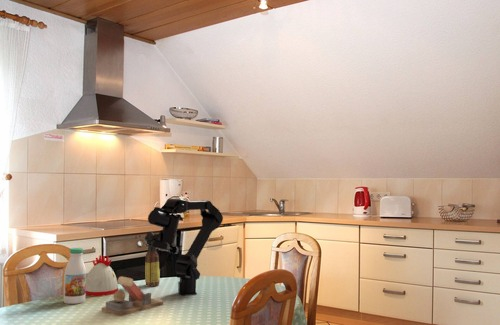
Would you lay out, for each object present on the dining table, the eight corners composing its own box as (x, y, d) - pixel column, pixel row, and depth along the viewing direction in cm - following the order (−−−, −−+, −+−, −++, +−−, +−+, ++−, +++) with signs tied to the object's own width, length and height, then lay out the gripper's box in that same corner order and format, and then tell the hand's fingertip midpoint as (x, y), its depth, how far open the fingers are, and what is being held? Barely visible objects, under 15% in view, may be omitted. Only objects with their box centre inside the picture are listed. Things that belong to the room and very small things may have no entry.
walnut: (120, 299, 167) (120, 288, 167) (127, 301, 165) (127, 290, 165) (110, 302, 164) (111, 290, 164) (118, 304, 161) (118, 292, 162)
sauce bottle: (161, 284, 209) (162, 239, 209) (157, 287, 202) (158, 241, 203) (146, 283, 209) (148, 239, 210) (142, 286, 203) (144, 240, 204)
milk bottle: (58, 302, 174) (61, 248, 174) (75, 298, 180) (77, 246, 181) (73, 305, 170) (75, 250, 171) (89, 301, 177) (91, 248, 178)
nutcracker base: (144, 300, 180) (145, 287, 181) (162, 304, 175) (163, 291, 175) (101, 311, 164) (102, 296, 164) (120, 316, 158) (120, 301, 159)
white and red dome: (107, 297, 184) (108, 259, 184) (75, 294, 186) (77, 256, 187) (123, 289, 197) (125, 253, 198) (94, 287, 200) (95, 252, 201)
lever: (138, 294, 175) (120, 274, 168) (148, 297, 172) (130, 276, 165) (134, 301, 173) (116, 281, 166) (143, 303, 170) (125, 283, 163)
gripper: (157, 229, 195) (148, 267, 191) (143, 222, 177) (132, 263, 173) (182, 234, 193) (174, 272, 189) (171, 227, 175) (161, 269, 171)
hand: (160, 269), depth 181 cm, fingers closed
